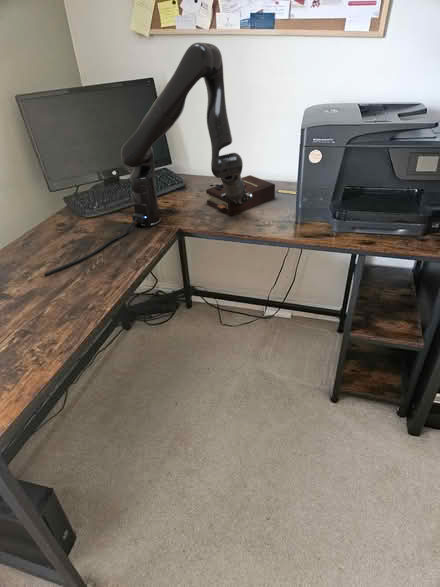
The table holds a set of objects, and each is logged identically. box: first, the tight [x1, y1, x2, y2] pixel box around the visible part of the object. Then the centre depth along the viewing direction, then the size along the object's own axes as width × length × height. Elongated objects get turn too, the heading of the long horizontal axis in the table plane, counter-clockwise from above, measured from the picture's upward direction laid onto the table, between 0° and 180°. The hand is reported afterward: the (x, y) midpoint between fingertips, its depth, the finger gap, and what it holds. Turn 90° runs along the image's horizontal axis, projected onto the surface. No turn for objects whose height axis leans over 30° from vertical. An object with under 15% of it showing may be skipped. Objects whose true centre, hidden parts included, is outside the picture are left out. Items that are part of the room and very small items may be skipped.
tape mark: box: [277, 189, 297, 195], centre depth 184 cm, size 2×9×1 cm, turn 64°
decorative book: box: [205, 174, 276, 217], centre depth 176 cm, size 19×8×30 cm
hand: (239, 204), depth 166 cm, fingers closed
